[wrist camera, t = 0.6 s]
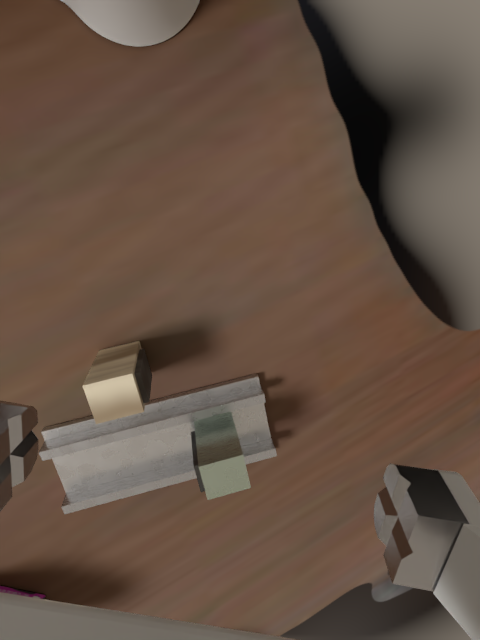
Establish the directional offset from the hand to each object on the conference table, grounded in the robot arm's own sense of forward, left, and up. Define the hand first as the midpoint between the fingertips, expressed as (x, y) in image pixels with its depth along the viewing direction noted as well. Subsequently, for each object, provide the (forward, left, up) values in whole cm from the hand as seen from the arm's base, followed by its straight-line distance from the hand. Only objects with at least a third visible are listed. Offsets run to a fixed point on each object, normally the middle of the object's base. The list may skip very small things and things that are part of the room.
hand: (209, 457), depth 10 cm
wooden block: (+12, -10, -41) cm, 44 cm away
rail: (+24, -8, -41) cm, 49 cm away
